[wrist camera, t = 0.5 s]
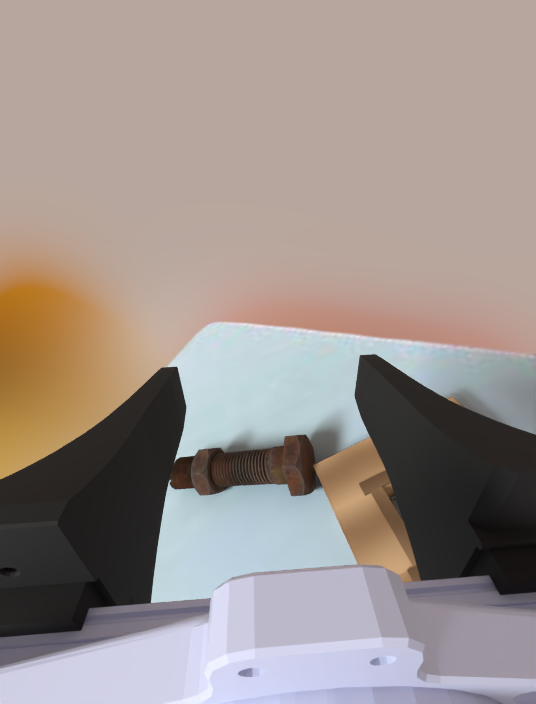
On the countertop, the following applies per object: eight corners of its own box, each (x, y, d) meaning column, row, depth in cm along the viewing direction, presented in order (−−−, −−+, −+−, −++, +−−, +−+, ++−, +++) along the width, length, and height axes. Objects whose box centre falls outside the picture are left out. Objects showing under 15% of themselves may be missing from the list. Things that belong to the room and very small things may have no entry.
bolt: (195, 481, 37) (320, 473, 32) (170, 513, 32) (312, 509, 27) (179, 437, 36) (305, 421, 31) (151, 463, 31) (294, 450, 26)
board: (618, 578, 19) (636, 567, 18) (411, 678, 19) (409, 677, 18) (451, 412, 30) (452, 395, 28) (319, 477, 30) (312, 464, 28)
